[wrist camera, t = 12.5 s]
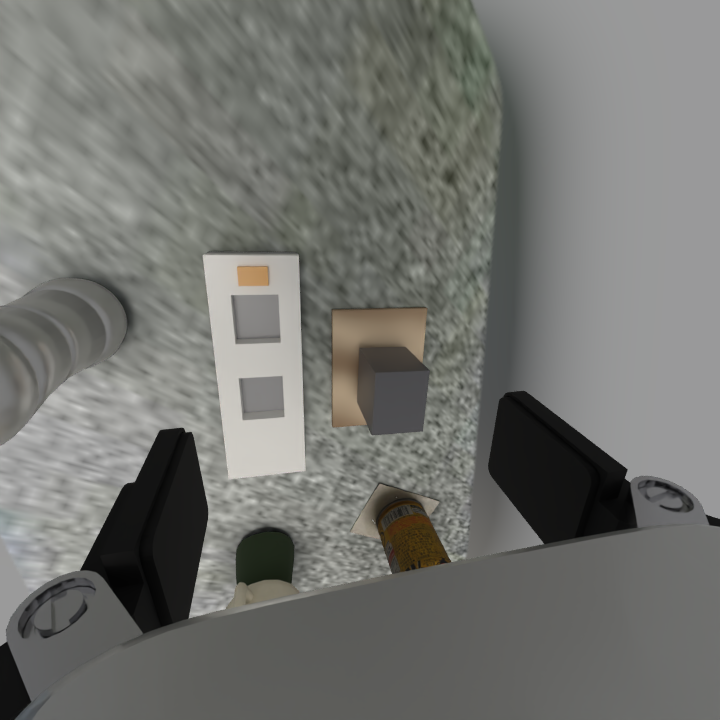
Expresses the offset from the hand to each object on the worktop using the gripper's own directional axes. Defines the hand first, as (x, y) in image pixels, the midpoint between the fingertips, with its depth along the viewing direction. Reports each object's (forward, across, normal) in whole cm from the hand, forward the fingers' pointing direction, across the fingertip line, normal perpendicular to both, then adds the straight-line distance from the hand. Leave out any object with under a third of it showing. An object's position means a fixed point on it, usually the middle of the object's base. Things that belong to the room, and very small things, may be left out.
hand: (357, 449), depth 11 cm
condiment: (+23, -9, +28) cm, 37 cm away
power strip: (+24, +4, +7) cm, 25 cm away
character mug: (+23, +6, +29) cm, 38 cm away
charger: (+23, -7, +9) cm, 26 cm away
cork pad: (+24, -7, +8) cm, 26 cm away
